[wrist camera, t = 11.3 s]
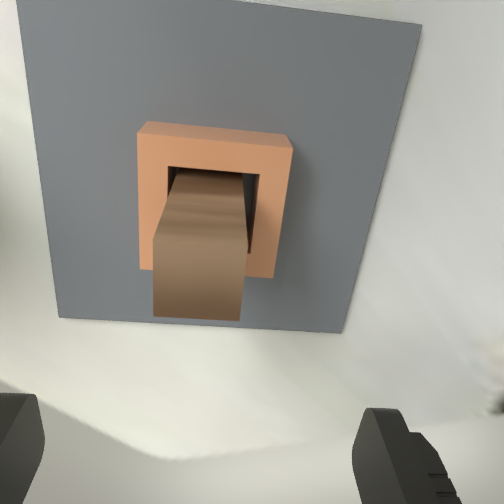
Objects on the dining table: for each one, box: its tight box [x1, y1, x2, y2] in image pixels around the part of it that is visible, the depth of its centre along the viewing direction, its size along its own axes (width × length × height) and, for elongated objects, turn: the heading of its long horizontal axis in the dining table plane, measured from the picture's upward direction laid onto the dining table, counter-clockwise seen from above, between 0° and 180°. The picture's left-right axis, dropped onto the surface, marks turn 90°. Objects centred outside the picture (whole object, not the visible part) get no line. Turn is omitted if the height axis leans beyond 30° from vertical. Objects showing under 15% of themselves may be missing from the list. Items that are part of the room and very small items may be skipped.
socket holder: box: [16, 0, 422, 333], centre depth 24 cm, size 20×20×4 cm
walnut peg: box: [153, 167, 248, 321], centre depth 21 cm, size 4×4×10 cm
